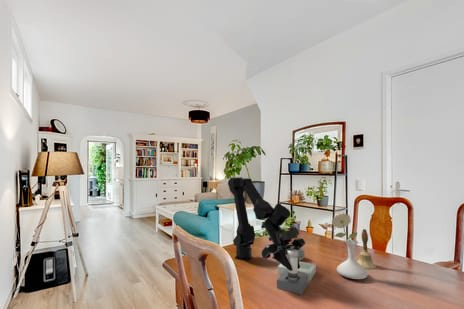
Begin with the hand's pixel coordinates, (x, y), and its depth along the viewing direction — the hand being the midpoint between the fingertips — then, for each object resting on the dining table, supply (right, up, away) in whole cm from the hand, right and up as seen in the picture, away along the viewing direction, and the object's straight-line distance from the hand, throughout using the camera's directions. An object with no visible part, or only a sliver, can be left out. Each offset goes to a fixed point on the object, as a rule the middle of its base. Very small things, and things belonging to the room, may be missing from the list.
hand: (295, 269), depth 90 cm
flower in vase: (+25, -7, +10) cm, 28 cm away
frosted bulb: (-1, -7, +1) cm, 7 cm away
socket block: (-1, -7, +1) cm, 7 cm away
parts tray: (+4, -7, +12) cm, 15 cm away
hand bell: (+37, -8, +20) cm, 43 cm away
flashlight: (+6, -8, +33) cm, 34 cm away
